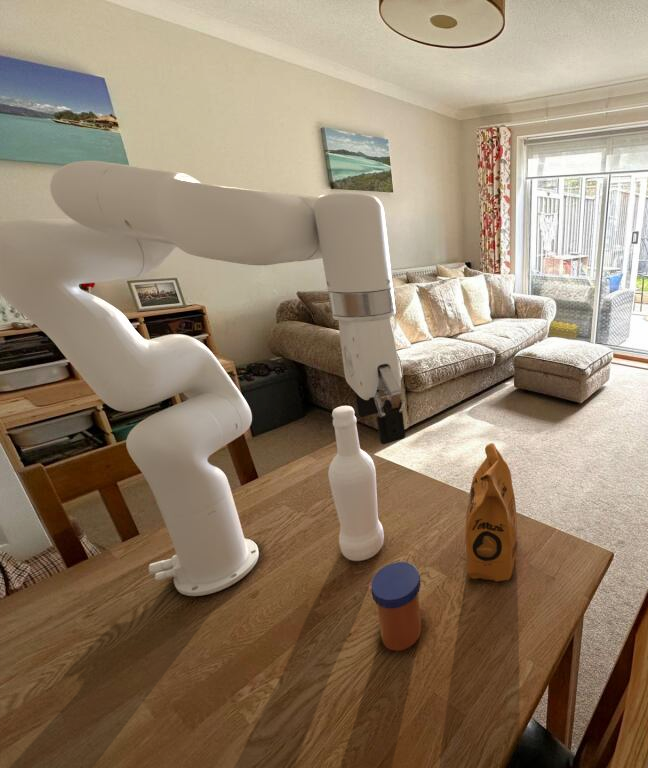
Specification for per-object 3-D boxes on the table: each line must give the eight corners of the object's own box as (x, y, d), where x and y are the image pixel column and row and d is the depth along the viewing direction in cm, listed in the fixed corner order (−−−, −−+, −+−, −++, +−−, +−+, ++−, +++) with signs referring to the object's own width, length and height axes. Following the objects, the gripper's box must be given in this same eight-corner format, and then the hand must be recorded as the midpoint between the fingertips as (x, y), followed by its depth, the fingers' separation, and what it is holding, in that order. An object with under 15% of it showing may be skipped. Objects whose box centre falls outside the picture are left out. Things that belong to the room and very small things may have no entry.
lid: (377, 617, 55) (376, 608, 54) (368, 580, 61) (366, 572, 60) (426, 596, 58) (425, 588, 58) (412, 563, 64) (412, 555, 63)
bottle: (371, 566, 74) (351, 422, 63) (332, 559, 76) (305, 416, 65) (392, 536, 82) (377, 401, 71) (355, 529, 83) (335, 397, 72)
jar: (386, 658, 59) (379, 606, 55) (377, 624, 64) (370, 575, 60) (426, 639, 62) (422, 589, 58) (414, 608, 67) (410, 560, 63)
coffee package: (458, 582, 72) (455, 478, 64) (470, 532, 83) (469, 439, 75) (514, 586, 71) (518, 482, 63) (518, 536, 83) (522, 442, 74)
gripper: (316, 297, 55) (337, 411, 61) (350, 319, 41) (373, 462, 48) (372, 292, 59) (386, 400, 65) (419, 311, 45) (431, 443, 52)
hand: (380, 426), depth 56 cm, fingers open, 9 cm apart
